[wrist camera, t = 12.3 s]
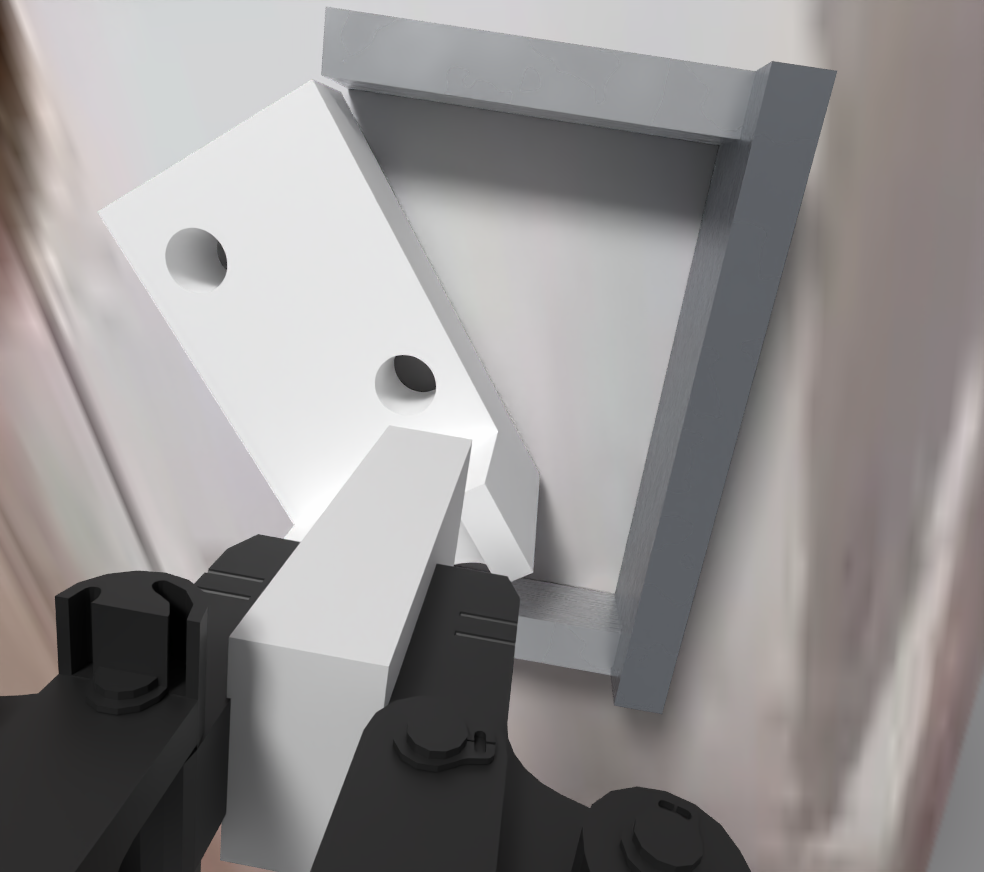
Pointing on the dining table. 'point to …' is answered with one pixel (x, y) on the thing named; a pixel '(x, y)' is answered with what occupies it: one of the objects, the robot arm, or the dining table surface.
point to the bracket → (321, 316)
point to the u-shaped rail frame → (706, 305)
